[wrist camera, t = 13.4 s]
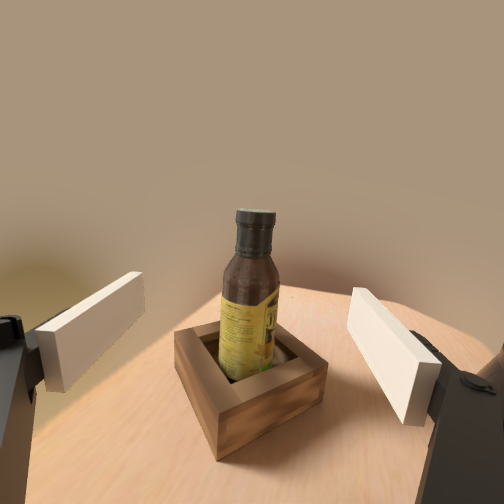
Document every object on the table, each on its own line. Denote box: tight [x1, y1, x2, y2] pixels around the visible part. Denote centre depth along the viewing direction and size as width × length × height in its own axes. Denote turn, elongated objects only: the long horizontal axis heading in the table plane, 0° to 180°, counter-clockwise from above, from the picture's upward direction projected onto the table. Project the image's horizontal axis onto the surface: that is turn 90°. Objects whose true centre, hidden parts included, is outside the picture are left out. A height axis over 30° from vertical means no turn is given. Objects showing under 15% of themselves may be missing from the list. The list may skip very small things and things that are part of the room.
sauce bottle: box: [219, 208, 280, 384], centre depth 27 cm, size 6×6×20 cm
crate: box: [174, 321, 328, 461], centre depth 29 cm, size 13×13×5 cm
